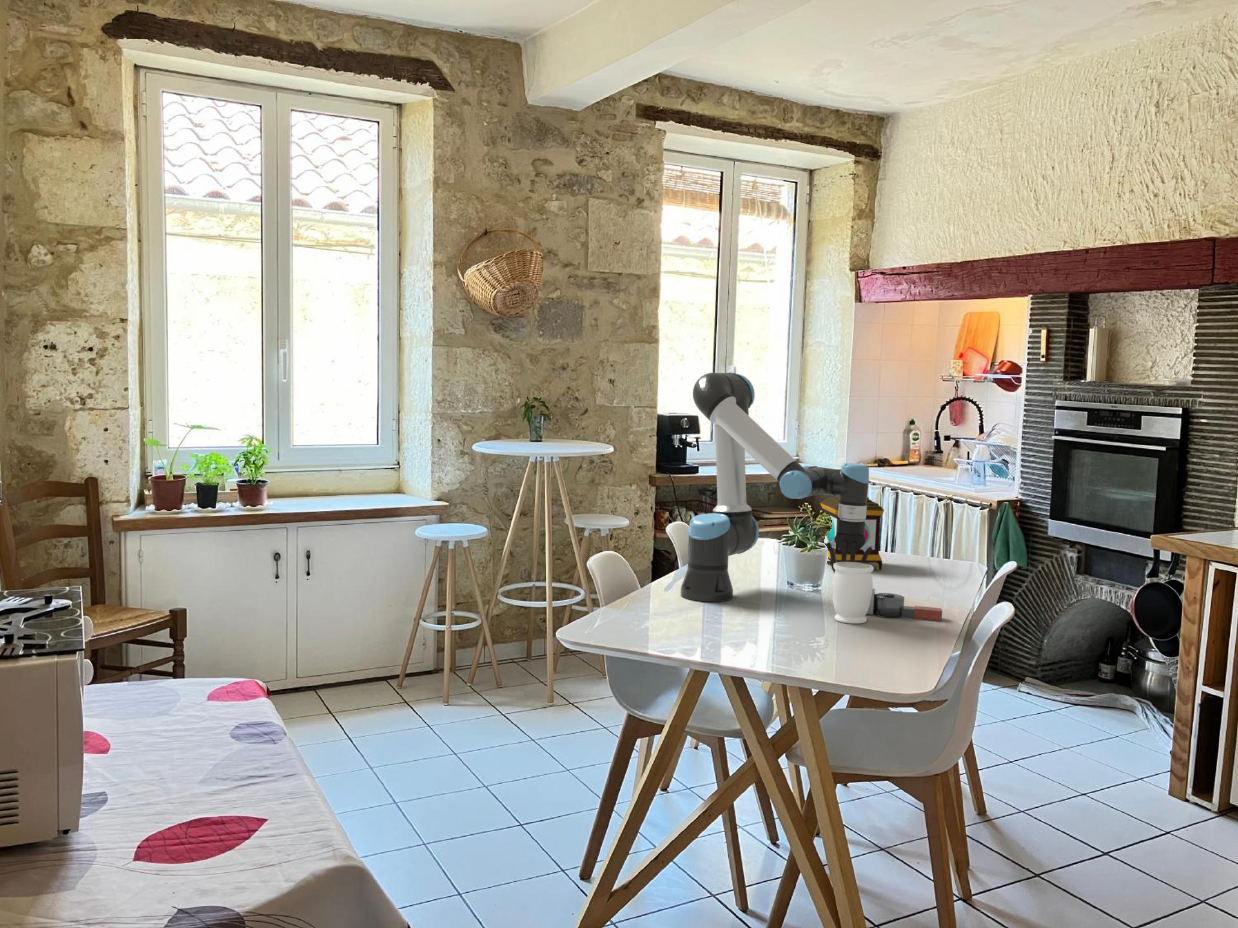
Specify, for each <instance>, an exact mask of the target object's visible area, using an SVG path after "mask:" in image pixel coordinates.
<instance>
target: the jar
mask: <svg viewBox="0 0 1238 928" xmlns="http://www.w3.org/2000/svg"><path fill="white" fill-rule="evenodd" d="M833 568H834V569H835V573H834V572H833V577H832V581H831V593H832V594H831V595H832V599H833V600H832V602H833V607H834V611H835V613H836V614H835V615H834V616H833V617H834V620H835V621H837V622H840V623H842V624H843V623H844V624H853V625H859V624H860V625H861V624H865V623H866V622H867V620H868V619H867V617H866V615H867V614H866V613H867V611H868V609H869V605H870V600H871V596H872V590H873V589H874V588H873V587H874V586H873V585H874V584H873V575H872V572H873V571H874V566H873V565H871V564H869V563H865V564H864V563H858V562H837V563H834V564H833Z"/></svg>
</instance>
